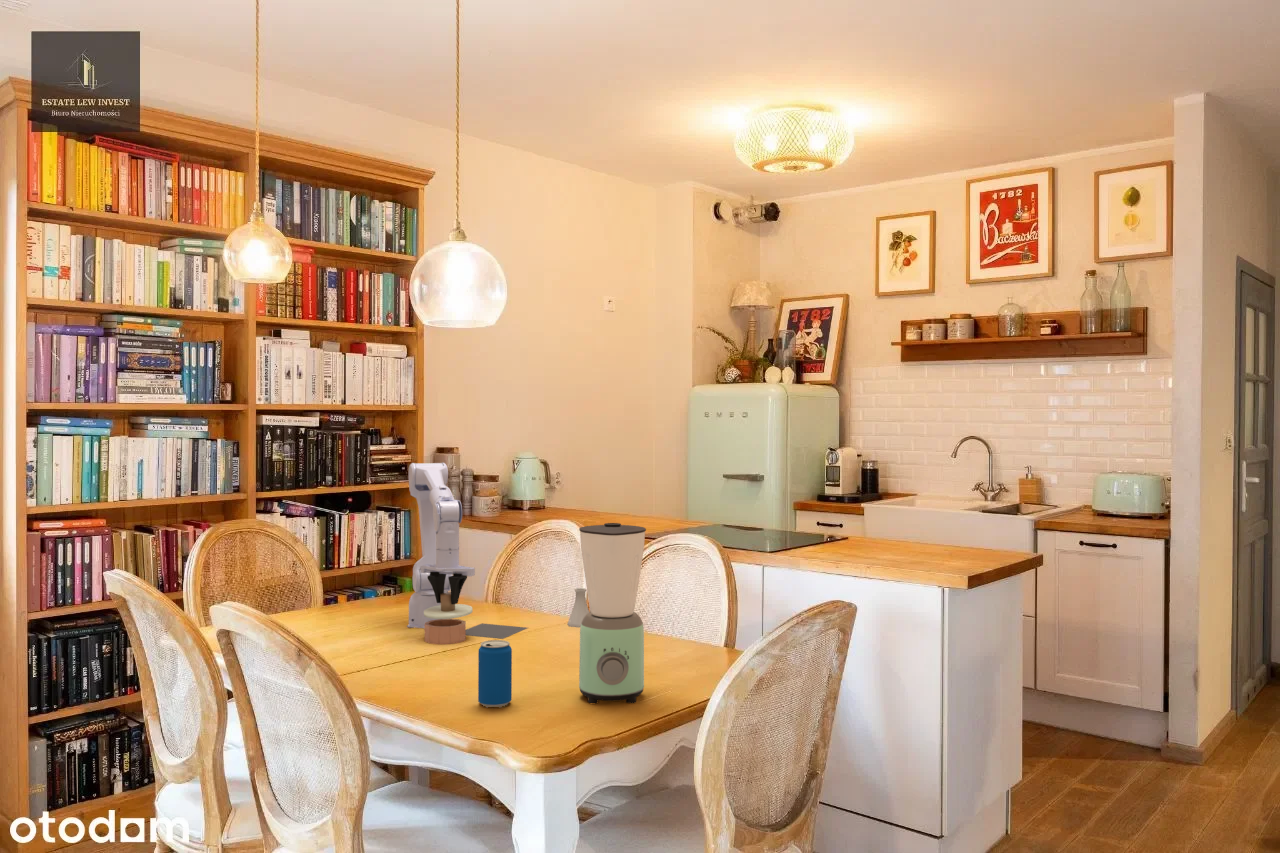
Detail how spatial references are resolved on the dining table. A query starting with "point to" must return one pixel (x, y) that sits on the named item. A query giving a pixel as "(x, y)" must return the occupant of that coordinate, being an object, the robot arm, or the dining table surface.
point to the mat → (493, 631)
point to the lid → (447, 609)
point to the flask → (578, 608)
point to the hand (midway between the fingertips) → (447, 603)
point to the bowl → (445, 631)
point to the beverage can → (495, 673)
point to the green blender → (612, 613)
